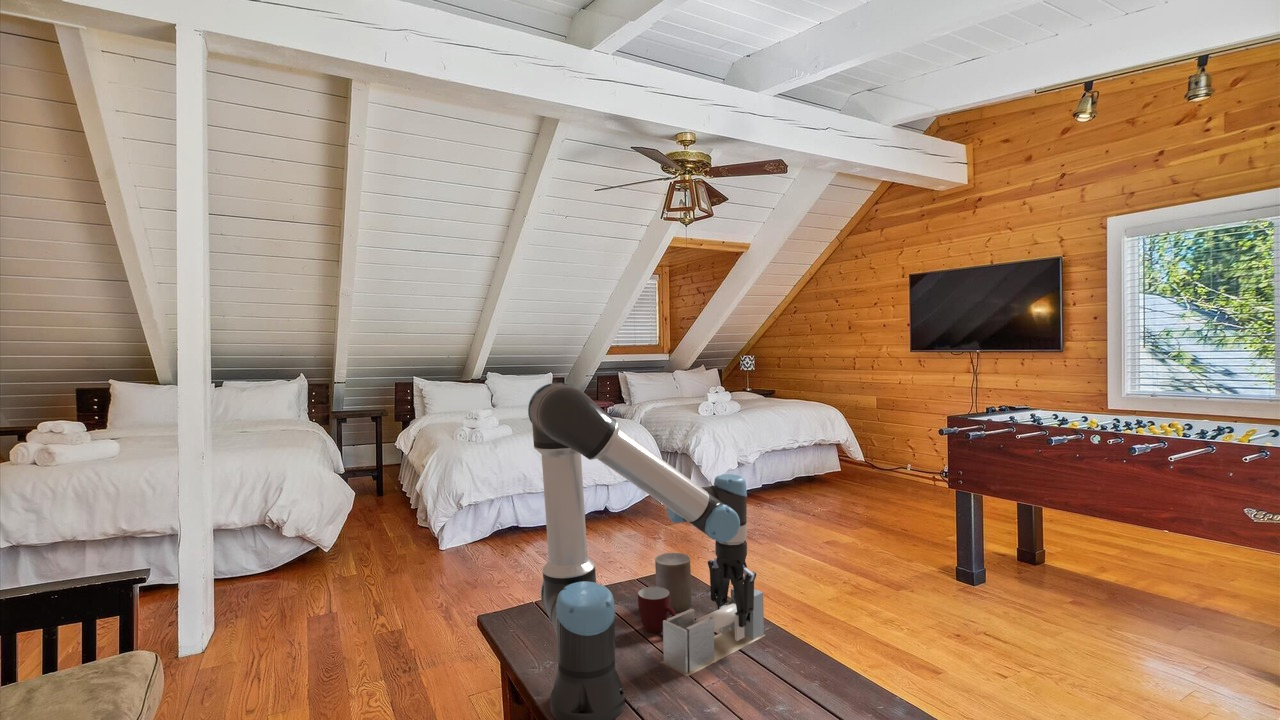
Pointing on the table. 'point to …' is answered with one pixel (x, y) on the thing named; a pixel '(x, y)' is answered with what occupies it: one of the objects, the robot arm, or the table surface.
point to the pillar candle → (675, 579)
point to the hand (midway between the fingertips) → (732, 635)
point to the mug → (654, 608)
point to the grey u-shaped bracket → (688, 642)
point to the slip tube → (722, 616)
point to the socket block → (753, 617)
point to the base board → (724, 647)
